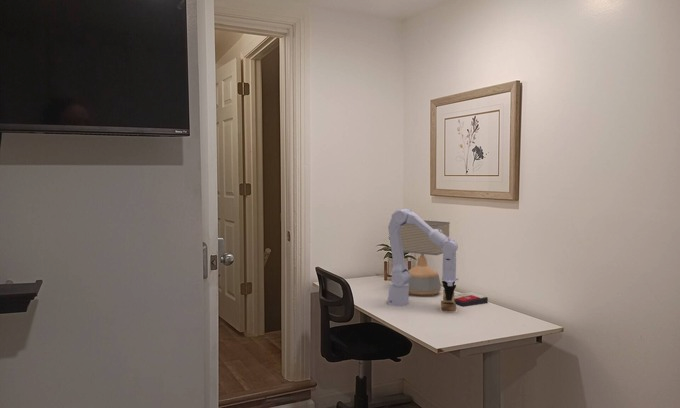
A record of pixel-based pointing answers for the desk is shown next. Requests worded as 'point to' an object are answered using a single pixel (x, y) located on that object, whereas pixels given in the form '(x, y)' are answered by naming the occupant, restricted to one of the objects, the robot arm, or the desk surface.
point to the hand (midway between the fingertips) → (448, 298)
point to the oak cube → (445, 297)
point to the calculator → (470, 299)
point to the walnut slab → (448, 306)
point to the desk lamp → (422, 257)
